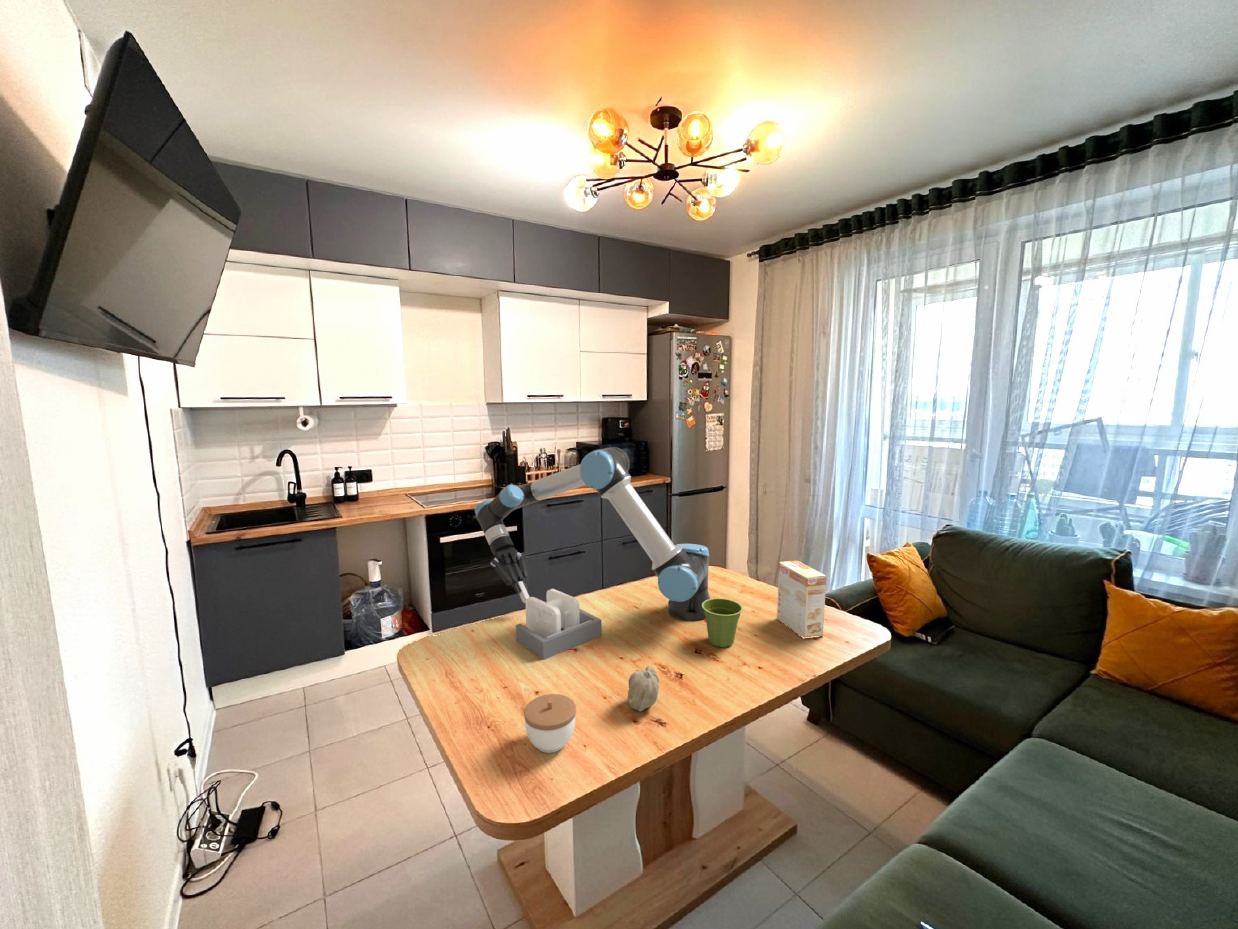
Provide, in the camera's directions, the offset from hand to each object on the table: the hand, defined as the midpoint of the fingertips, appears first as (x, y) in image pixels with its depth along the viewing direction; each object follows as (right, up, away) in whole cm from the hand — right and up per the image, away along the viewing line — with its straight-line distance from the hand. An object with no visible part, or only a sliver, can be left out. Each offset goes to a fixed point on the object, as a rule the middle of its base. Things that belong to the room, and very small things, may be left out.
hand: (526, 600), depth 162 cm
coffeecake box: (+87, -7, -6) cm, 88 cm away
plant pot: (+61, -8, -16) cm, 63 cm away
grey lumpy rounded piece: (+36, -12, -46) cm, 60 cm away
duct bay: (+12, -8, -13) cm, 19 cm away
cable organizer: (+10, -8, -11) cm, 17 cm away
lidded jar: (+16, -14, -58) cm, 62 cm away
